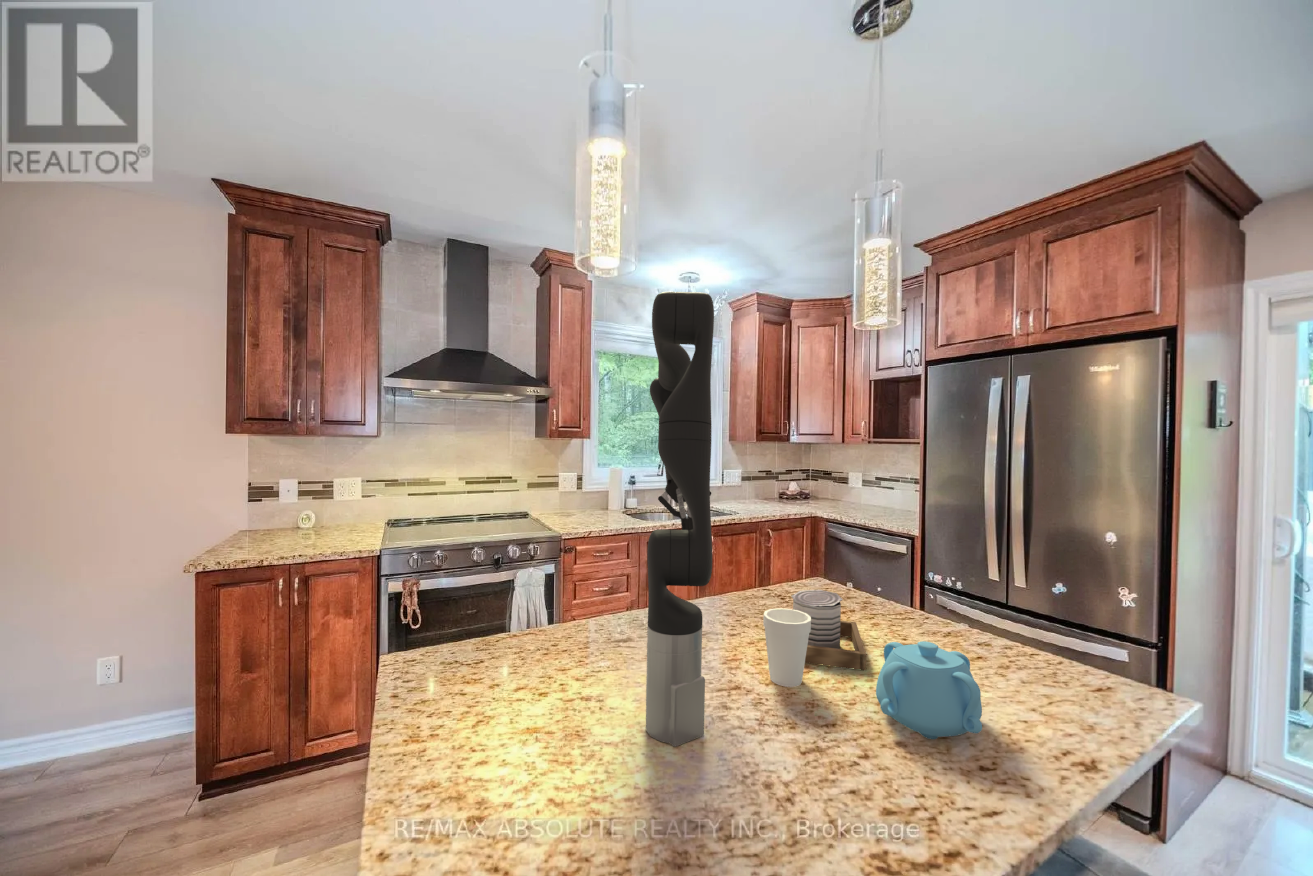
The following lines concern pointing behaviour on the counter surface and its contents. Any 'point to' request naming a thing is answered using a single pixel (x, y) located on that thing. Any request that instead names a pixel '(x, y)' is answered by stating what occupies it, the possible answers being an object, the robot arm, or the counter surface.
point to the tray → (840, 651)
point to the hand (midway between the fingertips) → (688, 534)
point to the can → (821, 616)
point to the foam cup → (786, 644)
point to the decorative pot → (929, 690)
